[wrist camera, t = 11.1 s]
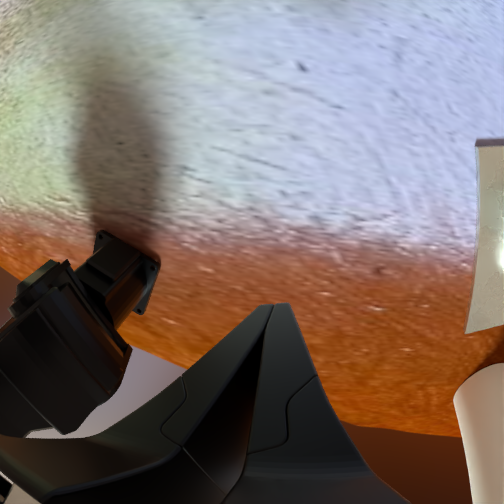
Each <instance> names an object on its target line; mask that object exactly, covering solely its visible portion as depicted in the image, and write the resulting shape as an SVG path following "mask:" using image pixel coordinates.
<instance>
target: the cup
mask: <svg viewBox="0 0 504 504" xmlns="http://www.w3.org/2000/svg"><path fill="white" fill-rule="evenodd" d="M453 402H454V406H455V410H456V414H457V418H458V422H459V426H460V430H461V435H462V439H463V444H464V449H465V454H466V459H467V465H468V471H469V477H470V485H471V492H472V500H473V504H504V363H498V364H493V365H490V366H488V367H485V368H483V369H481V370H480V371H478V372H476V373H475V374H473V375H472V376H471V377H469V378H468V379H467V380H466V381H465V382H464V383H463V384H462V385H461V386H460V387H459V388H458V390H457V391H456V393H455V395H454V399H453Z"/></svg>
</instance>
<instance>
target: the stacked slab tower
mask: <svg viewBox="0 0 504 504" xmlns="http://www.w3.org/2000/svg"><path fill="white" fill-rule="evenodd" d="M475 158H476V178H477V219H476V239H475V253H474V263H473V272H472V280H471V288H470V294H469V301H468V307H467V312H466V318H465V323H464V328H463V331H464V333H465V334H467V333H471V332H475V331H480V330H484V329H488V328H491V327H495V326H499V325H503V324H504V145H490V146H475Z"/></svg>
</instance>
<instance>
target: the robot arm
mask: <svg viewBox="0 0 504 504" xmlns="http://www.w3.org/2000/svg"><path fill="white" fill-rule="evenodd" d="M101 235H102V236H103V237H102V236H101ZM70 265H71V264H70V263H69V261H68V259H66V260H65V261H63V262H62V263H61V264H60V262H55V261H53V260H51V259H50V260H49V261H48V262H46V263H45V264H44V265H43V266H41V267H40V268H39V269H37V270H36V271H35V272H34V273H32V274H31V275H30V276H28V277H27V278H26V279H24V280H23V281H22V282H21V283H20V284H18V285H17V291H16V297H15V298H14V299H13V303H12V304H11V305H10V306H9V308H8V310H9V312H10V313H11V315H12V317H11V318H10V319H9V320H8V321H7V322H6V323H5V324H4V325H3V326H2V327H1V328H0V471H1V472H2V473H3V474H4V475H5V476H7V477H8V478H9V479H10V480H11V481H12V482H13V484H11V483H10V482H9V481H7V480H6V479H5V478H4V477H2V476H1V475H0V504H411V503H410V502H409V501H408V500H406V499H405V498H404V497H403V496H401V495H400V494H399V493H397V492H396V491H395V490H394V489H393V488H392V487H390V486H389V485H388V484H387V483H385V482H384V481H383V480H382V479H381V478H379V477H378V476H377V475H376V474H375V473H374V471H373V470H372V469H371V468H370V467H369V465H368V464H367V462H366V461H365V460H364V458H363V457H362V455H361V454H360V452H359V451H358V449H357V447H356V446H355V444H354V443H353V441H352V440H351V438H350V436H349V435H348V433H347V432H346V430H345V428H344V427H343V425H342V424H341V422H340V420H339V419H338V417H337V415H336V413H335V411H334V410H333V408H332V406H331V404H330V402H329V400H328V398H327V396H326V393H325V391H324V389H323V386H322V384H321V381H320V379H319V377H318V374H317V371H316V369H315V366H314V364H313V361H312V359H311V356H310V353H309V351H308V348H307V346H306V343H305V341H304V338H303V336H302V333H301V331H300V328H299V325H298V323H297V320H296V318H295V315H294V313H293V310H292V308H291V305H290V303H277V304H275V305H274V304H264V305H260V306H258V307H257V308H256V309H255V310H254V311H253V312H252V313H251V314H250V315H248V316H247V317H246V318H245V319H244V320H243V321H242V322H241V323H240V324H239V325H237V326H236V327H235V328H234V329H233V330H232V331H231V332H230V333H229V334H227V335H226V336H225V337H224V338H223V339H222V340H221V341H220V342H219V343H217V344H216V345H215V346H214V347H213V348H212V349H211V350H210V351H208V352H207V353H206V354H205V355H204V356H203V357H202V358H200V359H199V360H198V361H197V362H196V363H195V364H194V365H192V366H191V367H190V368H189V369H188V370H187V371H185V372H184V373H183V374H182V377H181V376H180V377H178V378H177V379H176V380H175V381H174V382H173V383H171V384H170V385H169V386H168V387H166V388H165V389H164V390H163V391H161V393H159V394H158V395H156V396H155V397H154V398H152V399H151V400H149V401H148V402H147V403H145V404H144V405H143V406H141V407H140V408H138V409H137V410H135V411H134V412H132V413H131V414H129V415H128V416H126V417H125V418H123V419H122V420H120V421H119V422H117V423H116V424H114V425H112V426H111V427H109V428H108V429H106V430H104V431H103V432H101V433H99V434H96V435H93V436H90V437H85V438H68V439H67V438H66V439H41V438H40V439H39V438H25V437H26V436H27V435H28V434H30V433H31V432H33V431H40V430H46V429H52V428H55V429H56V430H57V431H58V432H59V433H60V434H62V435H66V434H68V433H71V432H74V431H76V430H77V429H78V428H79V427H80V425H81V424H82V423H83V422H84V420H85V419H86V418H87V417H88V415H89V414H90V413H91V412H92V411H93V410H94V409H95V408H96V407H97V406H99V405H101V404H103V403H105V402H106V401H107V400H109V399H110V398H111V397H112V396H113V395H114V394H115V392H116V391H117V389H118V388H119V387H120V385H121V382H122V380H123V377H124V374H125V371H126V367H127V365H128V362H129V359H130V356H131V353H132V350H133V349H132V348H131V346H130V345H129V344H127V343H126V342H125V341H124V339H123V338H122V337H121V336H120V334H119V333H118V332H117V331H116V330H117V329H118V328H119V327H120V325H121V324H122V323H123V322H124V320H125V319H126V318H127V316H128V315H129V314H130V313H131V311H134V312H135V313H137V314H139V315H143V314H144V312H145V311H146V308H147V305H148V302H149V299H150V296H151V293H152V290H153V287H154V284H155V281H156V279H157V276H158V273H159V270H160V265H159V263H158V262H157V261H155V260H153V259H152V258H150V257H148V256H146V255H145V254H143V253H141V252H139V251H138V250H136V249H134V248H133V247H131V246H129V245H128V244H126V243H124V242H123V241H121V240H119V239H118V238H116V237H114V236H113V235H111V234H109V233H108V232H106V231H104V230H100V231H99V232H98V233H97V234H96V240H95V245H94V251H93V255H92V256H90V257H89V258H88V259H87V260H86V261H85V262H84V263H83V264H82V265H81V266H79V267H78V268H77V269H76V270H75V271H73V269H72V268H71V266H70ZM153 266H154V267H155V268H156V269H155V268H153Z"/></svg>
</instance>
